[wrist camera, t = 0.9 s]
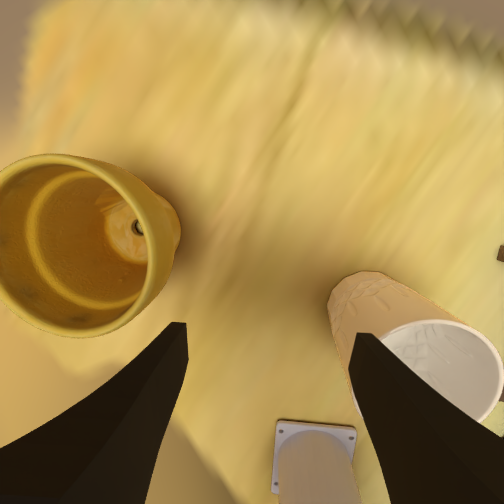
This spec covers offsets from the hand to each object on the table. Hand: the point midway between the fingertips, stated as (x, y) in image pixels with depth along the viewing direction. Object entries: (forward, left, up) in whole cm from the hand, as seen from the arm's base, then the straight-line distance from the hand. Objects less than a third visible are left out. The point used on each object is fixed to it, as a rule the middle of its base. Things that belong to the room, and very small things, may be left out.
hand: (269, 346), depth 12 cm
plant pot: (+3, +11, -13) cm, 17 cm away
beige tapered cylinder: (-3, -9, -13) cm, 16 cm away
